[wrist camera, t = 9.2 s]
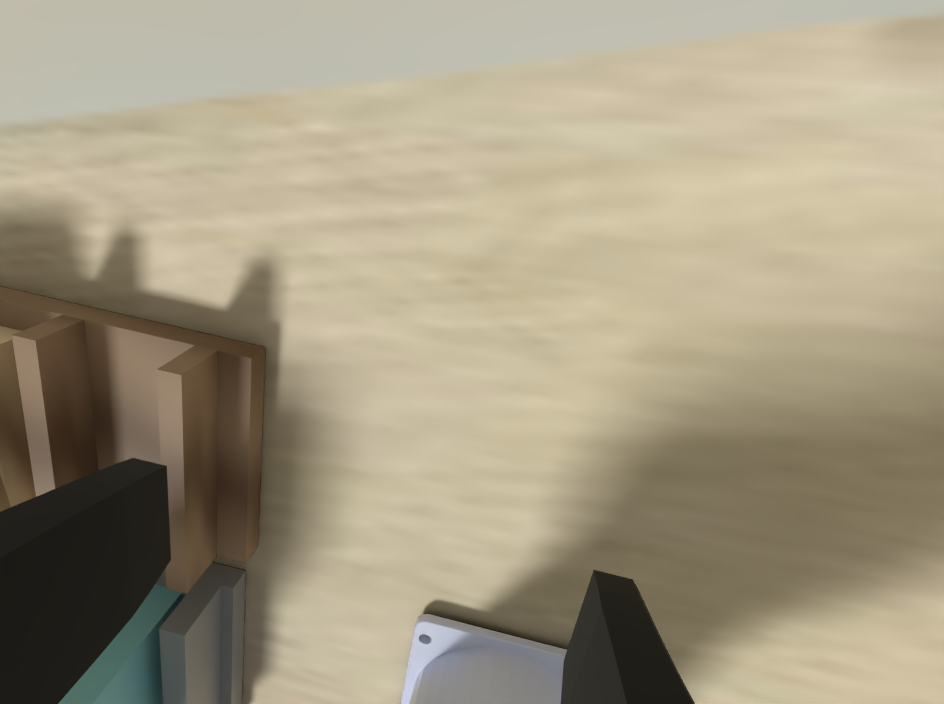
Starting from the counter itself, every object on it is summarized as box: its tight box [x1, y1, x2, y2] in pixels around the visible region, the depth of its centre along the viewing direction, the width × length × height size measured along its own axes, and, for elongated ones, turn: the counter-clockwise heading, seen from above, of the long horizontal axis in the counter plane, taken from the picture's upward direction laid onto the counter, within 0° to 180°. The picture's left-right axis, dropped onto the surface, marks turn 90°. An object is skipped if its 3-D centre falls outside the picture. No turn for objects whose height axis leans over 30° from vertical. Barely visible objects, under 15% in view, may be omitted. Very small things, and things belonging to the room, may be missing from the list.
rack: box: [0, 286, 266, 594], centre depth 21 cm, size 9×13×3 cm
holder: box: [156, 562, 246, 704], centre depth 25 cm, size 9×7×4 cm
